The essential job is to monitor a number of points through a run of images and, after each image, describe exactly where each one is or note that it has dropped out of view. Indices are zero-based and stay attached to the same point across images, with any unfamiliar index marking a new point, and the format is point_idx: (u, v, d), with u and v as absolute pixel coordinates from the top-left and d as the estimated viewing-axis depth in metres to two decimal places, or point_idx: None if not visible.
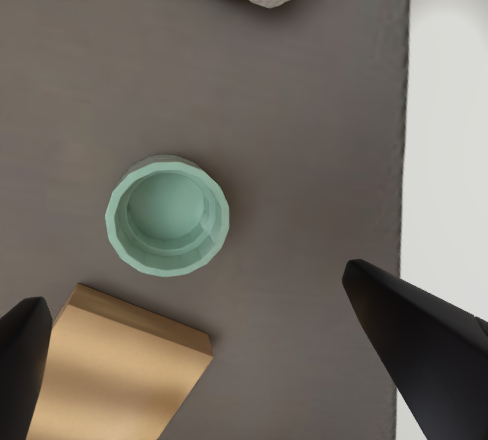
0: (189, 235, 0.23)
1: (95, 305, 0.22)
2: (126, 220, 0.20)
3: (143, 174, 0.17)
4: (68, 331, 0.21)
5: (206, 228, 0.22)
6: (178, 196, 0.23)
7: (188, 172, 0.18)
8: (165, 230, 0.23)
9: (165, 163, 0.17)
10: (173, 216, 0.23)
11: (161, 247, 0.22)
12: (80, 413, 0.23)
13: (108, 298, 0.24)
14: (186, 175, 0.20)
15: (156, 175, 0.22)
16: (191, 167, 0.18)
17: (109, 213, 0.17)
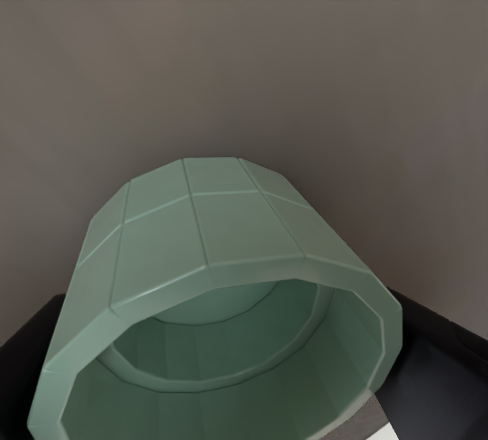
0: (190, 339, 0.10)
1: None
2: None
3: (326, 281, 0.05)
4: None
5: (243, 374, 0.10)
6: None
7: (385, 335, 0.06)
8: None
9: (385, 292, 0.05)
10: None
11: (133, 354, 0.08)
12: None
13: None
14: None
15: None
16: (400, 330, 0.06)
17: (131, 310, 0.04)
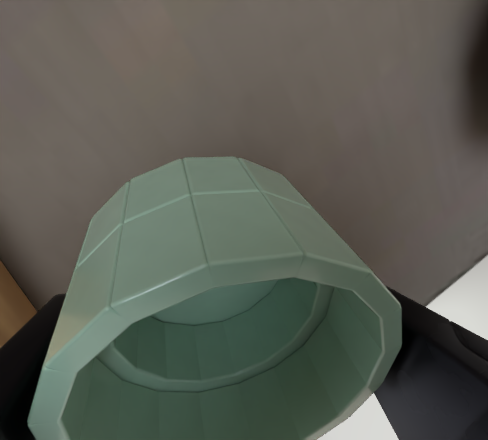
0: (190, 339, 0.10)
1: None
2: None
3: (325, 279, 0.05)
4: None
5: (243, 373, 0.10)
6: None
7: (385, 334, 0.06)
8: None
9: (384, 291, 0.06)
10: None
11: (133, 353, 0.08)
12: None
13: None
14: None
15: None
16: (399, 329, 0.06)
17: (131, 308, 0.04)
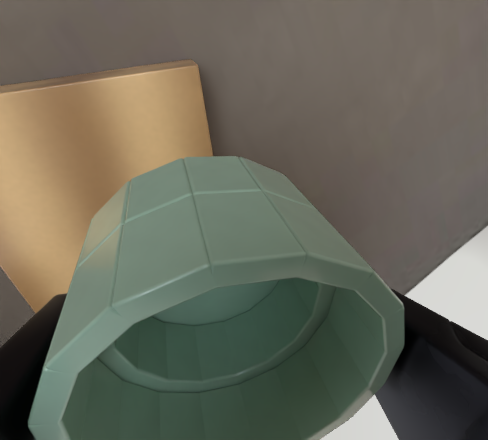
0: (191, 339, 0.10)
1: None
2: None
3: (328, 279, 0.05)
4: (158, 95, 0.13)
5: (244, 374, 0.10)
6: None
7: (387, 334, 0.06)
8: None
9: (387, 291, 0.05)
10: None
11: (134, 353, 0.08)
12: (50, 202, 0.15)
13: None
14: None
15: None
16: (402, 329, 0.06)
17: (132, 308, 0.04)
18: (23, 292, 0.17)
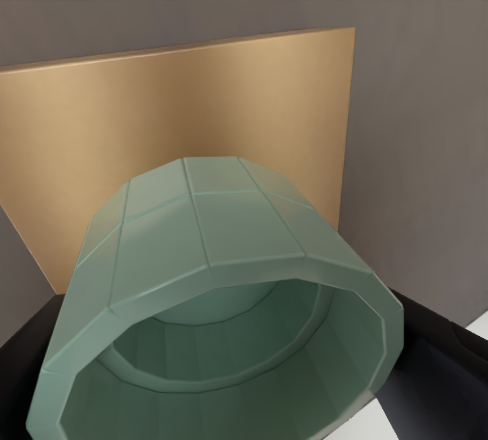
0: (191, 339, 0.10)
1: None
2: None
3: (327, 280, 0.05)
4: (299, 69, 0.10)
5: (243, 374, 0.10)
6: None
7: (387, 335, 0.06)
8: None
9: (386, 292, 0.05)
10: None
11: (133, 354, 0.08)
12: None
13: None
14: None
15: None
16: (401, 330, 0.06)
17: (130, 310, 0.04)
18: None
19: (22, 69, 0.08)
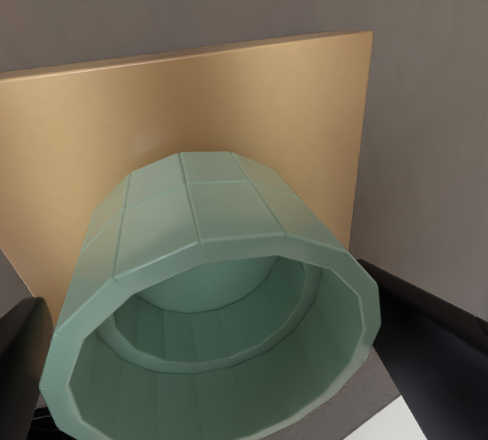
0: (188, 325, 0.11)
1: None
2: None
3: (305, 258, 0.06)
4: (311, 77, 0.09)
5: (237, 357, 0.10)
6: None
7: (364, 312, 0.07)
8: (157, 287, 0.11)
9: (361, 271, 0.06)
10: (193, 276, 0.11)
11: (133, 335, 0.09)
12: None
13: None
14: (308, 268, 0.09)
15: None
16: (378, 308, 0.07)
17: (131, 280, 0.05)
18: None
19: (6, 79, 0.07)
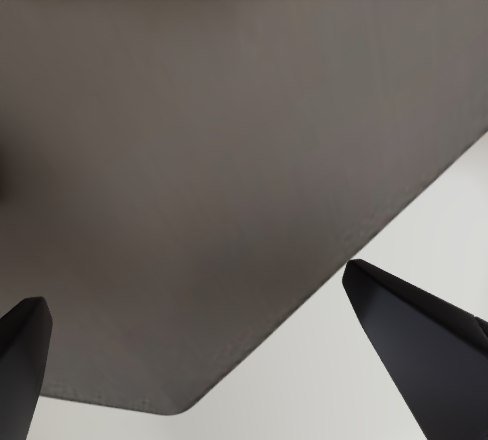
0: None
1: None
2: None
3: None
4: None
5: None
6: None
7: None
8: None
9: None
10: None
11: None
12: None
13: None
14: None
15: None
16: None
17: None
18: None
19: None
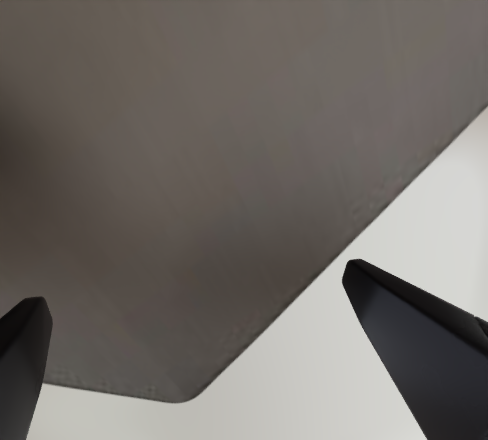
0: None
1: None
2: None
3: None
4: None
5: None
6: None
7: None
8: None
9: None
10: None
11: None
12: None
13: None
14: None
15: None
16: None
17: None
18: None
19: None
